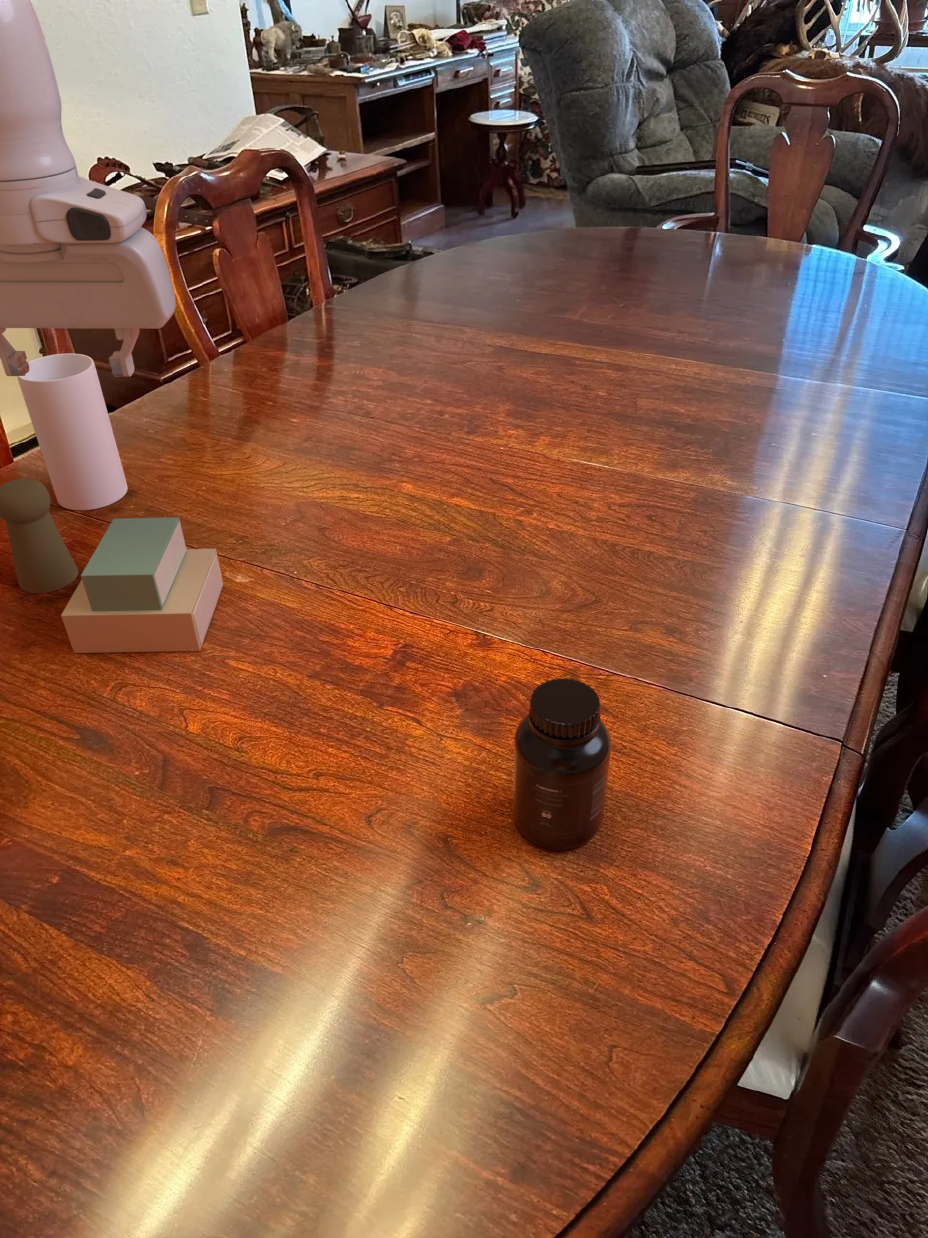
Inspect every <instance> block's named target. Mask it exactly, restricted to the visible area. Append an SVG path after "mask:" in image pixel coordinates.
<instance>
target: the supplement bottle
mask: <svg viewBox="0 0 928 1238" xmlns="http://www.w3.org/2000/svg"><path fill="white" fill-rule="evenodd" d="M600 700H601V699H600V696H598V693H597V692H595V689H594V688H592V687H591V686H590V685H588V684H586V683H585V682H582V681H580V680H578V679H577V680H576V679H573V678H560V677H559V678H554V679H551V680H546V681H544V682H542V683H541V684H540V685H538V686H536V688H535V689H534V690H533V693H531V695H530V700H529V709H528V713H527V714H526V715H525V716H524V717H523V718H522V719H521V721H520V722H519V724H518V725H517V727H516V730H515V734H514V743H513V745H514V746H513V785H512V787H513V788H512V815H513V820H514V823H515V825H516V827H517V829H518V831H519V832H520V833H521V834H522V835H523V836H524V837H525V838H526V839H527V840H529V841H530V842H532V843H533V844H535V845H537V846H539V847H541V848H544V849H549V850H555V851H567V850H572V849H575V848H576V849H577V848H579V847H582V846H584V845H585V844H587V843H588V842H590V841H591V840H593V839H594V837H595V836H596V835H597V834H598V832H599V831H600V829H601V826H602V824H603V819H604V813H605V806H606V796H607V787H608V780H609V779H608V777H609V770H610V762H611V761H610V760H611V751H612V739H611V735H610V732H609V730H608V728H607V725H605V723H604V722H603V721H602V719H601V701H600Z"/></svg>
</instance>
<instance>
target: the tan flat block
mask: <svg viewBox="0 0 928 1238" xmlns="http://www.w3.org/2000/svg"><path fill="white" fill-rule="evenodd" d="M186 549H187V552H186V555H185V557H184V559H183V562H182V564H181V566H180V569H179V571H178V573H177V576H176V578H175V580H174V583H173V585H172V587H171V590H170V592H169V594H168V597H167V599H166V601H165V604H164V606H163V608H162V610H121V611H92V609H91V606H90V603H89V600H88V597H87V594H86V591H85V587H84V584H83V581H82V579H81V580H80V581H79V583H78V585H77V586H76V588H75V590H74V592H73V593H72V595H71V597H70V599H69V600H68V602H67V604H66V606H65V608H64V609H63V611H62V613H61V614H60V617H61V620H62V623H63V626H64V629H65V631H66V634H67V637H68V640H69V643H70V645H71V649H72V652H73V653H74V654H107V653H109V654H110V653H157V652H158V653H160V652H161V653H165V652H166V653H169V652H200V651H201V649H202V648H203V647H202V646H203V644H204V642H205V638H206V635H207V633H208V630H209V628H210V625H211V621H212V618H213V615H214V613H215V609H216V608H217V604H218V601H219V598H220V596H221V592H222V591H223V587H224V581H223V576H222V575H223V574H222V572H221V571H222V570H221V566H220V562H219V556H218V553H217V548H186Z"/></svg>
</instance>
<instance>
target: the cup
mask: <svg viewBox="0 0 928 1238" xmlns="http://www.w3.org/2000/svg"><path fill="white" fill-rule="evenodd" d="M27 362H28V364H29V372H28V373H26V375H25V376H16V378H17V381H18V384H19V387H20V389H21V393H22V397H23V400H24V403H25V406H26V409H27V412H28V415H29V418H30V421H31V424H32V427H33V430H34V434H35V436H36V440H37V443H38V446H39V449H40V452H41V455H42V458H43V461H44V465H45V467H46V470H47V474H48V477H49V480H50V483H51V486H52V489H53V492H54V495H55V499H56V502H57V504H58V505H59V506H61V507H62V508H64V509H67V510H71V511H90V510H96V509H101V508H104V507H107V506H110V505H112V504H115V503H116V502H118V501H120V500H121V499H122V498H123V497H124V496H125V495H126V494H127V492H128V490H129V489H128V488H129V485H128V483H127V479H126V475H125V471H124V467H123V464H122V460H121V457H120V453H119V450H118V446H117V442H116V438H115V434H114V431H113V427H112V424H111V419H110V416H109V412H108V409H107V406H106V401H105V397H104V394H103V391H102V386H101V383H100V379H99V376H98V375H99V374H98V372H97V369H96V365H95V364H96V363H95V362H94V359H93V358H92V357H90V356H89V355H86V354H81V353H57V354H50V355H45V356H41V357H37V358H35V359H31V360H29V361H27Z"/></svg>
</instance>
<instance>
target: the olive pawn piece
mask: <svg viewBox="0 0 928 1238" xmlns="http://www.w3.org/2000/svg"><path fill="white" fill-rule="evenodd" d="M50 496H51V495H50V493H49V491H48V489H47V487H46V486H45V485H44V484H43V483H42V482H41V481H38V480H37V479H32V478H17V479H12V480H9V481H7V482H5V483H3V484H1V485H0V519H2V520H4V521H5V525H6V529H7V535H8V540H9V544H10V550H11V554H12V559H13V565H14V570H15V574H16V579H17V584H18V586H19V588H20V590H22V591H24V592H25V593H29V594H47V593H52V592H55V591H59V590H62V589H63V588H65V587H68V586H69V585H70V584H72V583H73V582H74V581H75V580H76V579H77V577H78V575H79V568H78V566H77V564H76V562H75V561H74V558H73V557H72V554H71V553H70V551H69V548H68V546H67V544H66V543H65V541H64V539H63V537H62V535H61V533H60V531H59V529H58V527H57V525H56V523H55V520H54V518H53V517H52V515H51V513H50V511H49V510H50V507H51V497H50Z"/></svg>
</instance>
